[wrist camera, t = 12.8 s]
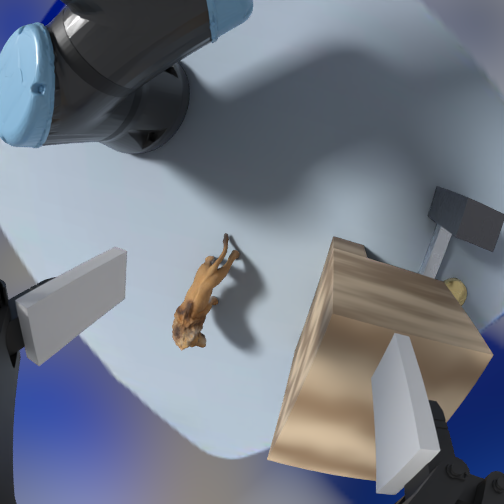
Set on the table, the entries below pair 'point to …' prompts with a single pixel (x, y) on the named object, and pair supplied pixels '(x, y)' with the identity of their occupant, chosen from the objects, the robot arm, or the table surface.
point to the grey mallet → (459, 226)
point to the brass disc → (457, 289)
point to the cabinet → (368, 359)
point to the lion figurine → (200, 300)
